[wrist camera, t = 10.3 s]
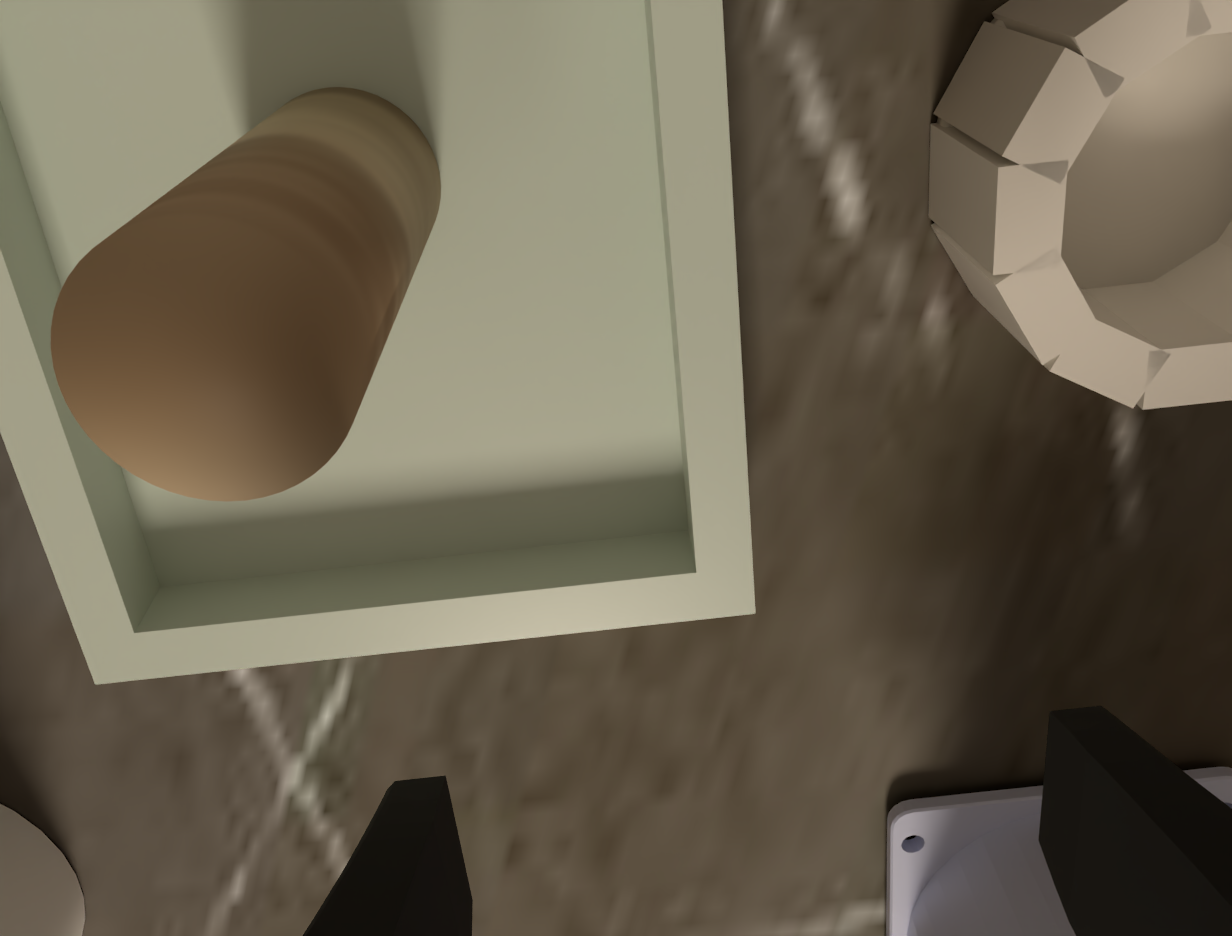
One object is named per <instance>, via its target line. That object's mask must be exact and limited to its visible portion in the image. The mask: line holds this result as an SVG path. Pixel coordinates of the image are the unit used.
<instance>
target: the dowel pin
mask: <svg viewBox="0 0 1232 936" xmlns="http://www.w3.org/2000/svg"><path fill="white" fill-rule="evenodd" d="M440 199H441V181H440V173H439V169H438V165H437V161H436V158H435V156H434V153H433V150H432V148H431V146H430V144H429V142H428V141H427V139H426V137H425V136H424V134H423V133H422V131H421V130H420V128H419V127H418V126H417V125H416V124H415V123H414V122H413V120H412V119H411V118H410V117H409V116H408V115H406V114H405V113H404V112H403V111H402V110H401V109H400V108H398V107H397V106H395V105H394V104H392V103H391V102H389V101H387V100H385V99H383V98H381V97H379V96H377V95H375V94H372V93H369V92H366V91H363V90H358V89H354V88H345V87H329V88H322V89H317V90H313V91H310V92H307V93H304V94H302V95H300V96H298V97H296V98H294V99H292V100H290V101H289V102H288V103H286V104H285V105H283V106H282V107H281V108H279V109H278V110H277V111H275V112H274V113H273V114H271V115H270V116H269V117H267V118H266V119H265V120H263V121H262V122H261V123H259V124H258V125H257V126H255V127H254V128H253V129H251V130H250V131H249V132H247V133H246V134H245V135H243V136H242V137H241V138H239V139H238V140H237V141H235V142H234V143H233V144H231V145H230V146H229V147H227V148H226V149H225V150H223V151H222V152H221V153H219V154H218V155H217V156H215V157H214V158H213V159H211V160H210V161H209V162H207V163H206V164H205V165H203V166H202V167H201V168H199V169H198V170H197V171H195V172H194V173H193V174H191V175H190V176H188V177H187V178H186V179H184V180H183V181H182V182H180V183H179V184H178V185H176V186H175V187H174V188H172V189H171V190H170V191H168V192H167V193H166V194H164V195H163V196H162V197H160V198H159V199H158V200H156V201H155V202H154V203H152V204H151V205H150V206H148V207H147V208H146V209H144V210H143V211H142V212H140V213H139V214H138V215H136V216H135V217H134V218H132V219H131V220H130V221H128V222H127V223H126V224H124V225H123V226H122V227H120V228H119V229H118V230H116V231H115V232H114V233H112V234H111V235H110V236H108V237H107V238H106V239H104V240H103V241H102V242H100V243H99V244H98V245H96V246H95V247H94V248H92V249H91V250H90V251H89V252H88V253H87V254H86V255H85V256H84V257H83V258H82V259H81V260H80V261H79V262H78V264H77V265H76V266H75V268H74V269H73V270H72V272H71V273H70V274H69V276H68V277H67V279H66V281H65V283H64V285H63V287H62V289H61V291H60V293H59V296H58V299H57V302H56V305H55V308H54V312H53V318H52V324H51V355H52V362H53V368H54V371H55V375H56V379H57V382H58V385H59V388H60V390H61V393H62V395H63V397H64V400H65V402H66V404H67V406H68V407H69V409H70V411H71V413H72V414H73V416H74V418H75V419H76V421H77V422H78V424H79V425H80V426H81V428H82V429H83V430H84V432H85V433H86V434H87V436H88V437H89V438H90V439H91V440H92V441H93V442H94V443H95V444H96V445H97V446H98V447H99V448H100V449H101V450H102V451H103V452H104V453H105V454H106V455H107V456H109V457H110V458H111V459H112V460H113V461H115V462H116V463H117V464H118V465H120V466H121V467H123V468H124V469H126V470H127V471H129V472H130V473H132V474H133V475H135V476H137V477H139V478H141V479H142V480H144V481H146V482H148V483H150V484H152V485H154V486H157V487H159V488H162V489H164V490H167V491H169V492H173V493H176V494H180V495H183V496H187V497H191V498H197V499H203V500H210V501H226V502H228V501H246V500H252V499H257V498H263V497H267V496H270V495H273V494H277V493H280V492H283V491H285V490H287V489H289V488H291V487H294V486H296V485H298V484H300V483H301V482H303V481H304V480H306V479H308V478H309V477H311V476H312V475H314V474H315V473H316V472H317V471H318V470H319V469H321V468H322V467H323V466H324V465H325V464H326V463H327V462H328V461H329V460H330V459H331V458H332V457H333V456H334V454H335V453H336V452H337V451H338V449H339V448H340V446H341V445H342V443H343V442H344V440H345V439H346V437H347V435H348V433H349V431H350V428H351V426H352V424H353V422H354V420H355V417H356V415H357V412H358V410H359V407H360V405H361V402H362V400H363V397H364V395H365V393H366V390H367V388H368V385H369V383H370V380H371V378H372V375H373V373H374V370H375V368H376V366H377V363H378V361H379V358H380V356H381V353H382V351H383V348H384V346H385V344H386V341H387V339H388V336H389V334H390V331H391V329H392V326H393V324H394V321H395V319H396V317H397V314H398V312H399V309H400V307H401V304H402V302H403V299H404V297H405V294H406V292H407V290H408V287H409V285H410V282H411V280H412V277H413V275H414V272H415V270H416V267H417V265H418V263H419V260H420V258H421V255H422V253H423V250H424V248H425V245H426V243H427V240H428V238H429V236H430V233H431V231H432V228H433V226H434V223H435V221H436V218H437V214H438V211H439V206H440Z"/></svg>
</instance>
